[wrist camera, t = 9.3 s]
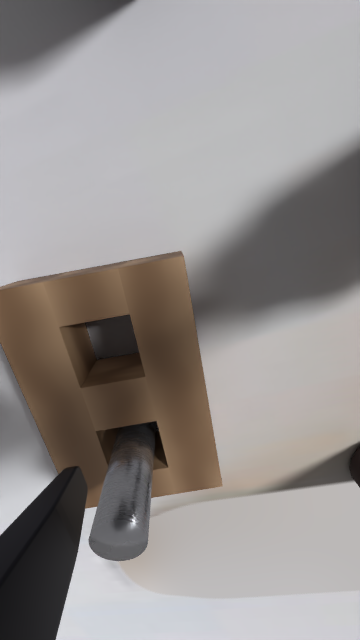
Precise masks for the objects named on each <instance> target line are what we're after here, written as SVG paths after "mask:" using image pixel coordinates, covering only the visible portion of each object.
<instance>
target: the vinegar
mask: <svg viewBox="0 0 360 640" xmlns="http://www.w3.org/2000/svg"><path fill="white" fill-rule="evenodd" d="M350 471H351V475H352V478H353V479H354V480H355V482H356V483H357V484H358V486H359V487H360V447H359V448H358V449H357V450H356V452H355V454H354V455H353V457H352V459H351V463H350Z"/></svg>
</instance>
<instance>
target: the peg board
mask: <svg viewBox="0 0 360 640" xmlns="http://www.w3.org/2000/svg"><path fill="white" fill-rule="evenodd" d="M128 314H130V318H131V322H132V326H133V330H134V333H135V337H136V341H137V345H138V349H139V353H133V354H128V355H122V356H116V357H111V358H105V359H99V360H97V359H96V356H95V353H94V350H93V347H92V344H91V340H90V337H89V334H88V331H87V328H86V325H85V322H90V321H95V320H101V319H106V318H112V317H117V316H123V315H128ZM0 343H1V345H2V347H3V350H4V352H5V354H6V357H7V359H8V361H9V363H10V366H11V368H12V370H13V372H14V375H15V377H16V379H17V381H18V384H19V386H20V388H21V390H22V393H23V395H24V397H25V399H26V402H27V404H28V406H29V409H30V411H31V413H32V415H33V418H34V420H35V422H36V424H37V427H38V429H39V431H40V433H41V436H42V438H43V440H44V442H45V445H46V447H47V449H48V451H49V454H50V456H51V458H52V461H53V463H54V465H55V467H56V470H57V472H58V474H59V473H60V472H61V471H62V470H63V469H65V468H67V467H72V466H79V467H80V468H81V470H82V473H83V475H84V478H85V480H86V483H87V487H88V493H87V500H86V506H85V508H91V507H98V503H99V499H100V495H101V492H102V488H103V484H104V480H105V476H106V473H107V469H108V465H109V461H110V458H111V454H112V450H113V446H114V443H115V439H116V435H117V431H118V427H124V426H130V425H135V424H141V423H147V422H153V421H157V424H158V428H159V431H157V432H156V437H155V450H154V464H153V477H152V491H151V498H153V497H159V496H165V495H172V494H178V493H184V492H190V491H196V490H202V489H209V488H215V487H221V486H222V480H221V474H220V468H219V462H218V456H217V450H216V444H215V439H214V433H213V427H212V421H211V415H210V409H209V403H208V397H207V391H206V385H205V379H204V373H203V367H202V361H201V356H200V350H199V344H198V338H197V332H196V326H195V320H194V314H193V308H192V302H191V296H190V290H189V284H188V278H187V272H186V267H185V261H184V256H183V254H182V252H181V251H178V252H173V253H167V254H162V255H157V256H151V257H146V258H140V259H135V260H130V261H124V262H119V263H114V264H108V265H103V266H97V267H92V268H87V269H81V270H76V271H70V272H65V273H60V274H54V275H49V276H44V277H38V278H33V279H27V280H22V281H17V282H14V283H11V284H8V285H5V286H2V287H0Z"/></svg>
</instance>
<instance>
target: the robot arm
mask: <svg viewBox="0 0 360 640" xmlns="http://www.w3.org/2000/svg"><path fill="white" fill-rule="evenodd" d="M87 493H88V487H87V483H86V480H85V478H84V475H83V473H82V470H81V468H80V467H79V466H72V467H67V468H65V469H63V470H62V471H61V472H60V473H59V474H58V476H57V477H56V478H55V479H54V480H53V481H52V482H51V483H50V484H49V485H48V486H47V487H46V488H45V489H44V490H43V491H42V492H41V493H40V494H39V495H38V497H37V498H36V499H35V500H34V501H33V502H32V503H31V504H30V505H29V506H28V507H27V508H26V509H25V510H24V511H23V512H22V513H21V514H20V515H19V516H18V518H17V519H16V520H15V521H14V522H13V523H12V524H11V525H10V526H9V527H8V528H7V529H6V530H5V531H4V532H3V533H2V534H1V535H0V640H56V636H57V632H58V628H59V624H60V620H61V616H62V612H63V608H64V604H65V601H66V597H67V593H68V589H69V585H70V581H71V577H72V573H73V569H74V565H75V561H76V557H77V553H78V547H79V542H80V536H81V530H82V524H83V518H84V512H85V506H86V500H87Z"/></svg>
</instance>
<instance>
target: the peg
mask: <svg viewBox="0 0 360 640" xmlns="http://www.w3.org/2000/svg"><path fill="white" fill-rule="evenodd" d="M156 423H157V421H153V422H147V423H141V424H135V425H130V426H124V427H119V428H118V431H117V435H116V439H115V443H114V446H113V450H112V454H111V458H110V461H109V465H108V469H107V473H106V476H105V480H104V484H103V488H102V492H101V495H100V499H99V503H98V507H97V510H96V514H95V518H94V522H93V525H92V529H91V533H90V537H89V545H90V547H91V549H92V550H93V552H94V553H96V554H97V555H98V556H100V557H102V558H105V559H108V560H113V561H124V560H130V559H133V558H135V557H137V556H139V555H140V554H141V553H142V552H143V551H144V550H145V549H146V547H147V544H148V532H149V518H150V505H151V491H152V477H153V464H154V450H155V437H156Z"/></svg>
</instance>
